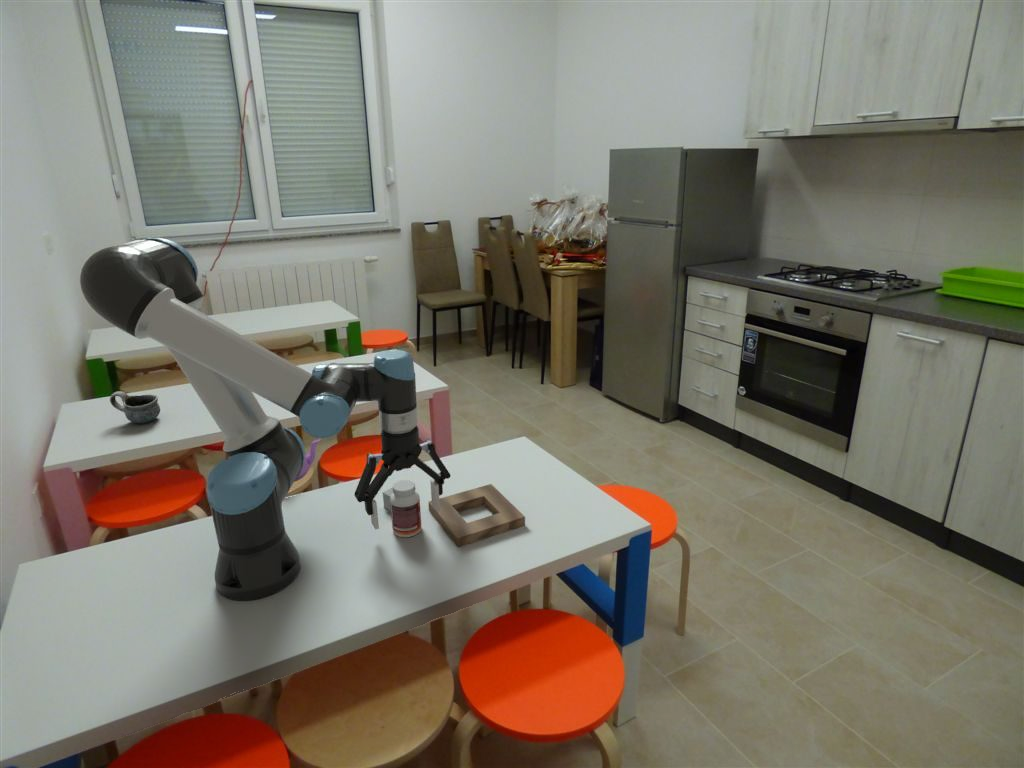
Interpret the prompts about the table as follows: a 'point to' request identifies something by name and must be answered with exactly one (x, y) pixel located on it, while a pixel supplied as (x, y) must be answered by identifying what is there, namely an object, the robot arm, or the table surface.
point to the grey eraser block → (387, 498)
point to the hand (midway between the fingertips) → (406, 517)
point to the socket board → (482, 528)
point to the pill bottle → (405, 509)
